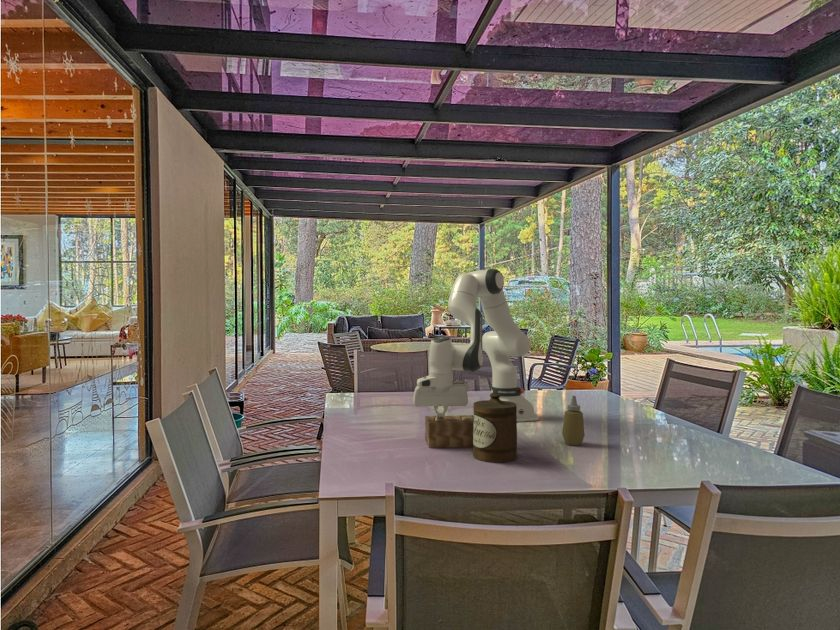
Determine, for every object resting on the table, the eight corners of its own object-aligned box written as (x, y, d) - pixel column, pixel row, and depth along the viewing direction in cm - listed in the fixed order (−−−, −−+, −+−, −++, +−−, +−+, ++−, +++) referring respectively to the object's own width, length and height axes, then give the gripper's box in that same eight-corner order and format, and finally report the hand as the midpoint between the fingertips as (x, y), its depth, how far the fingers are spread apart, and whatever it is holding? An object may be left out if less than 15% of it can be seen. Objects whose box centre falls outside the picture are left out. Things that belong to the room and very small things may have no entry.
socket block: (476, 438, 222) (477, 415, 222) (483, 446, 210) (483, 421, 210) (425, 439, 220) (425, 415, 220) (429, 447, 208) (429, 422, 208)
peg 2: (471, 437, 218) (471, 416, 217) (473, 440, 214) (473, 418, 213) (460, 437, 217) (461, 416, 217) (462, 440, 213) (462, 418, 213)
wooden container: (465, 453, 201) (465, 390, 200) (502, 449, 207) (502, 387, 206) (486, 464, 188) (487, 397, 187) (525, 460, 193) (526, 394, 193)
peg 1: (445, 438, 217) (445, 416, 216) (446, 440, 213) (446, 419, 212) (434, 438, 216) (434, 417, 216) (435, 440, 212) (436, 419, 212)
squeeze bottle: (572, 447, 209) (573, 398, 209) (557, 442, 216) (558, 394, 216) (589, 445, 213) (590, 396, 212) (573, 440, 220) (574, 393, 220)
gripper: (466, 379, 218) (466, 415, 218) (412, 379, 216) (412, 416, 216) (470, 381, 212) (469, 419, 212) (414, 382, 209) (414, 420, 210)
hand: (440, 418), depth 214 cm, fingers closed, pressing on peg 1
